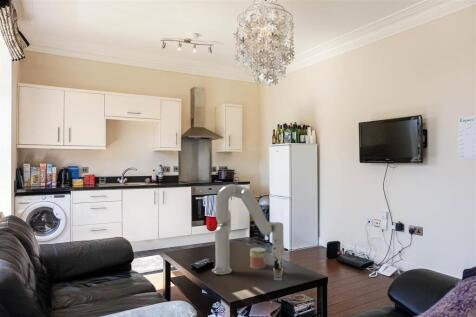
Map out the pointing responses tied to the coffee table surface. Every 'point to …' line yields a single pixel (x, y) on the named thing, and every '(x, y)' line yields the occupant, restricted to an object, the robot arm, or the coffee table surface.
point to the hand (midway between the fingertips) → (278, 268)
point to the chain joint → (277, 274)
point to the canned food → (257, 258)
